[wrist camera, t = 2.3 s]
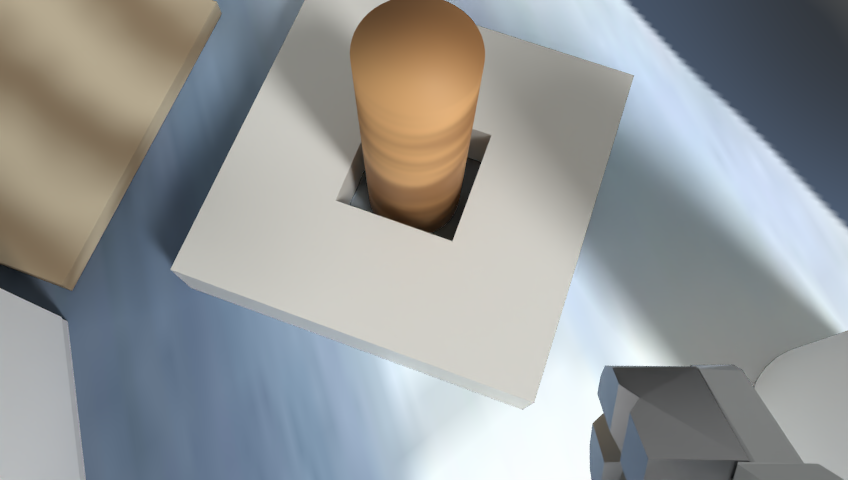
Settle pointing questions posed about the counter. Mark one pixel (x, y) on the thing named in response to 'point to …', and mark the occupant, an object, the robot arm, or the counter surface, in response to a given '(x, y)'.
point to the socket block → (400, 244)
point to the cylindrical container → (812, 400)
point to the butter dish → (37, 395)
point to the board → (83, 116)
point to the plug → (416, 106)
